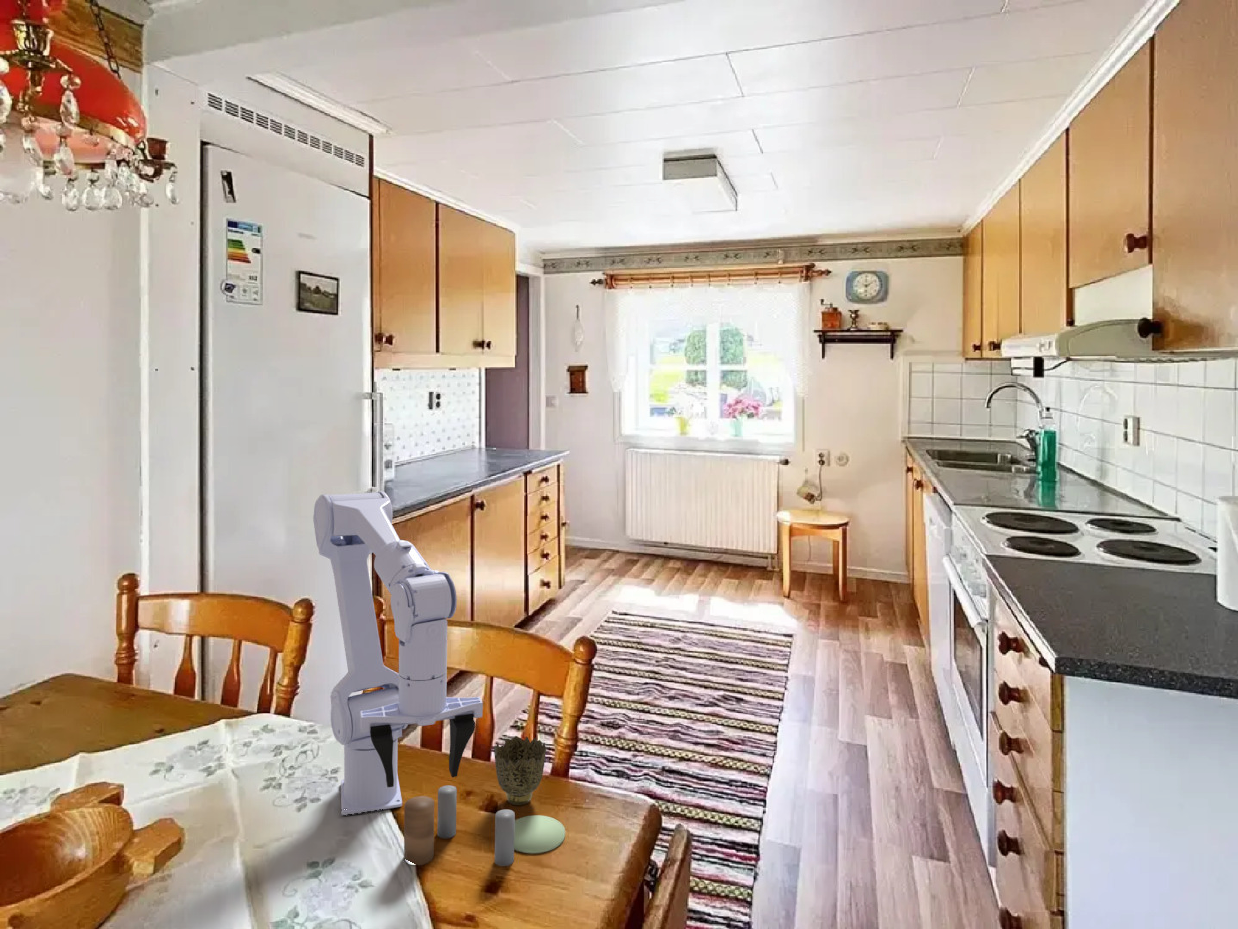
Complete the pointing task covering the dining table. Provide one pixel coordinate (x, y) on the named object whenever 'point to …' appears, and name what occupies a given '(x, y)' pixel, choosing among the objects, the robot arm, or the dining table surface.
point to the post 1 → (447, 811)
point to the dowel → (419, 830)
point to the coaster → (537, 834)
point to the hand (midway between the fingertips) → (422, 778)
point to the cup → (519, 768)
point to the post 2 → (504, 837)
